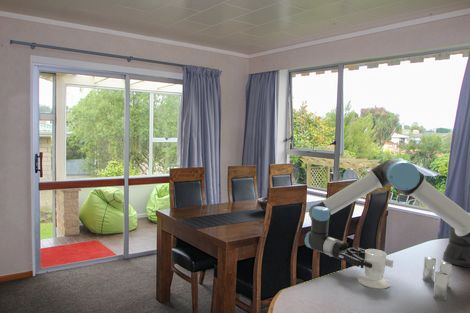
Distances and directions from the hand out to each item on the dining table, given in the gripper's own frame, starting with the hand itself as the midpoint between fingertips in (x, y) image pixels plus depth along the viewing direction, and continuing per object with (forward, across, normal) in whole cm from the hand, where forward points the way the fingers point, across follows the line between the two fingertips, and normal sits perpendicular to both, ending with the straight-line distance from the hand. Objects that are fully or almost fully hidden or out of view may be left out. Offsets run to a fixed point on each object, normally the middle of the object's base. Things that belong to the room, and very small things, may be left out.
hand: (386, 266), depth 144 cm
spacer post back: (+12, -21, -8) cm, 26 cm away
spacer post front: (+16, -8, -8) cm, 20 cm away
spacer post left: (+6, -21, -8) cm, 24 cm away
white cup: (-5, 0, -6) cm, 8 cm away
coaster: (-5, 0, -8) cm, 9 cm away
